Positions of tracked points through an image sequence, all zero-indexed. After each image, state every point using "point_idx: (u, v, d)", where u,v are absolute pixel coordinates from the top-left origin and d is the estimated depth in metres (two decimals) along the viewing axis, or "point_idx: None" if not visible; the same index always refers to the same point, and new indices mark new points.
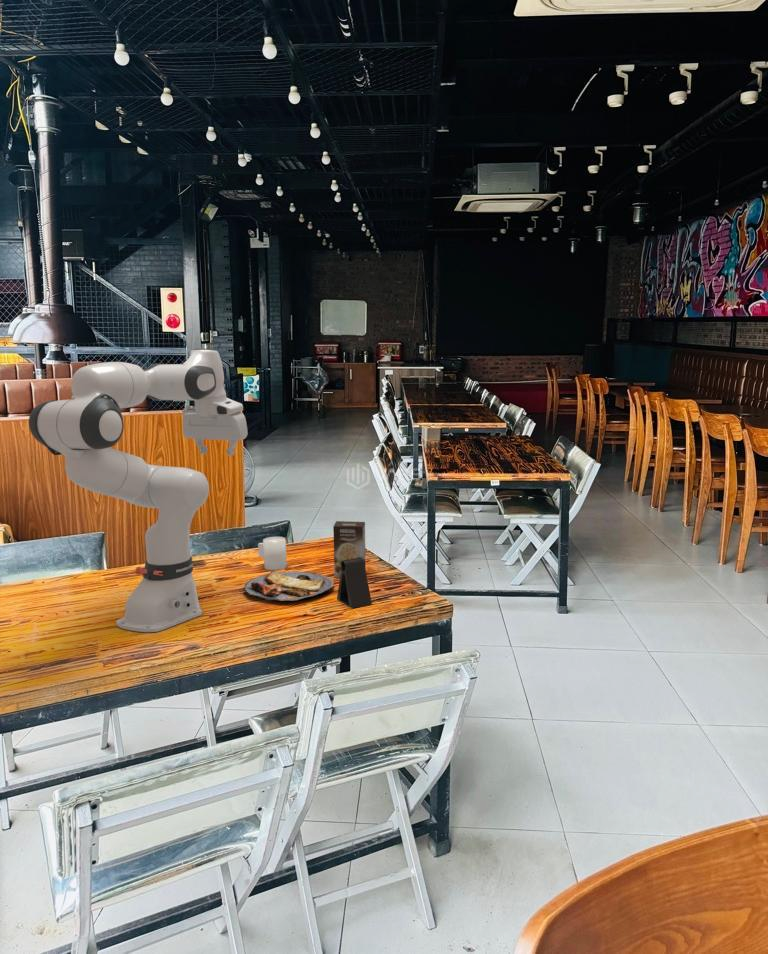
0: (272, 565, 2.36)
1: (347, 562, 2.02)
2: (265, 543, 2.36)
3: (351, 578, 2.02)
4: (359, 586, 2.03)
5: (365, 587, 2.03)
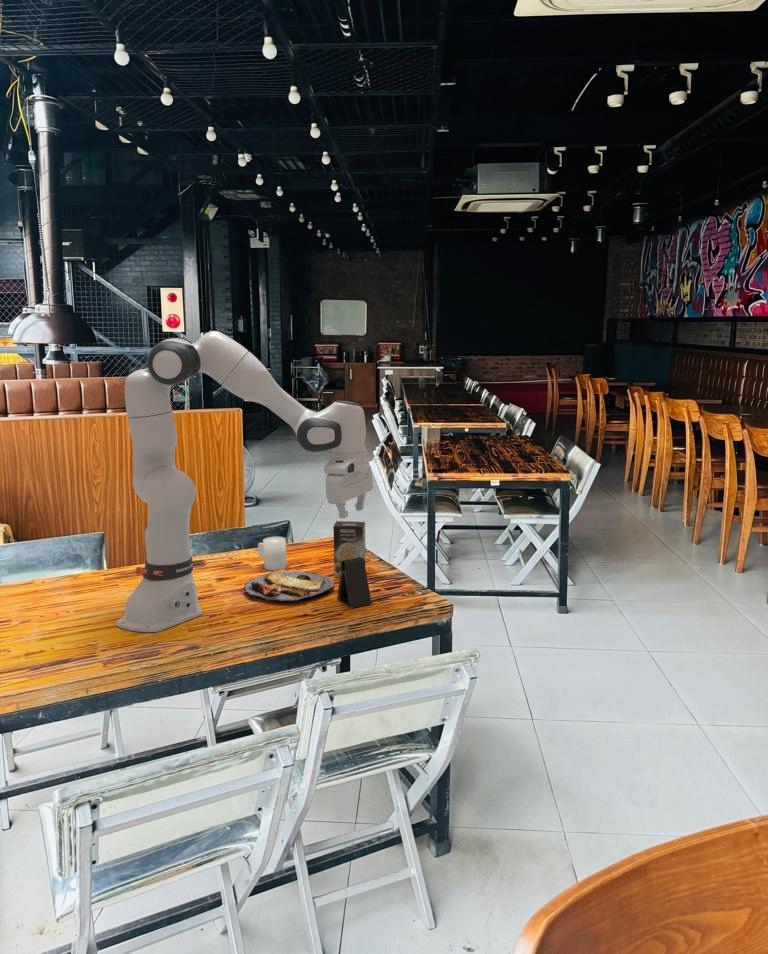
0: (272, 565, 2.36)
1: (347, 562, 2.02)
2: (265, 543, 2.36)
3: (351, 578, 2.02)
4: (359, 586, 2.03)
5: (365, 587, 2.03)
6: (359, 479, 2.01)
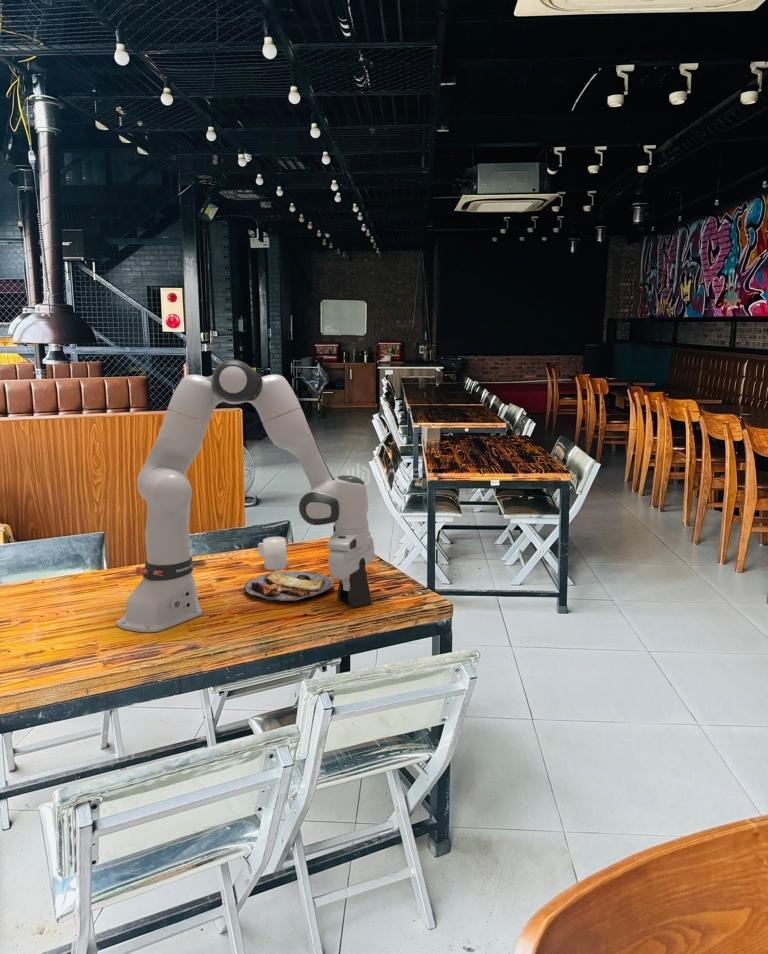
0: (272, 565, 2.36)
1: None
2: (265, 543, 2.36)
3: (351, 578, 2.02)
4: (359, 586, 2.03)
5: (365, 587, 2.03)
6: (361, 552, 2.05)
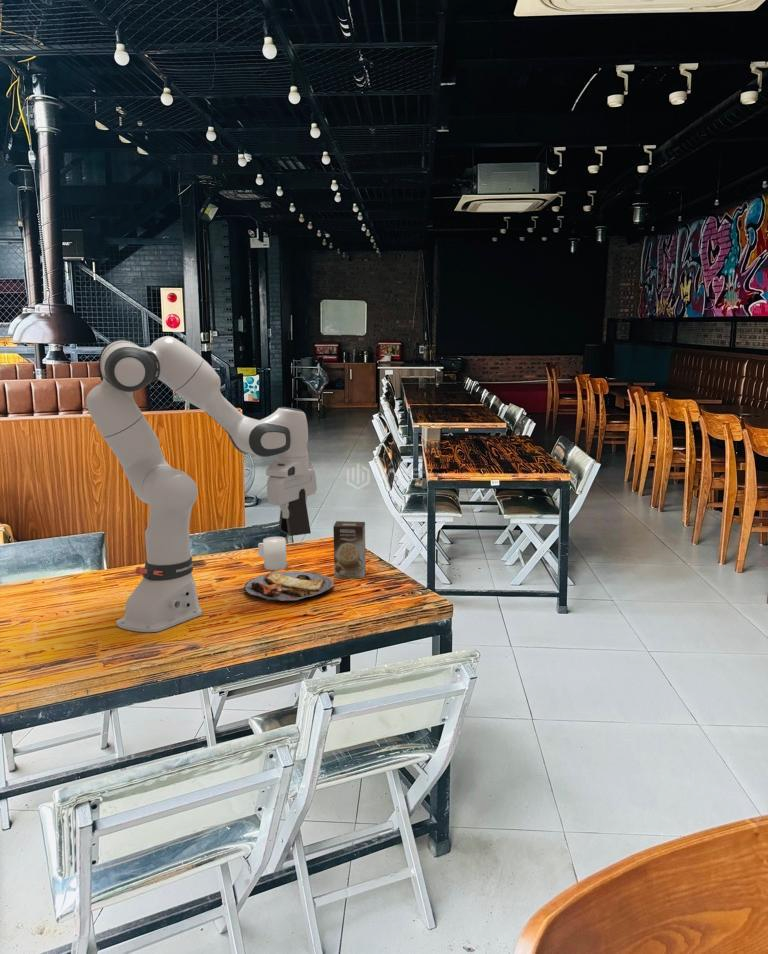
0: (272, 565, 2.36)
1: None
2: (265, 543, 2.36)
3: (290, 507, 2.08)
4: (298, 515, 2.09)
5: (304, 516, 2.09)
6: (302, 482, 2.11)
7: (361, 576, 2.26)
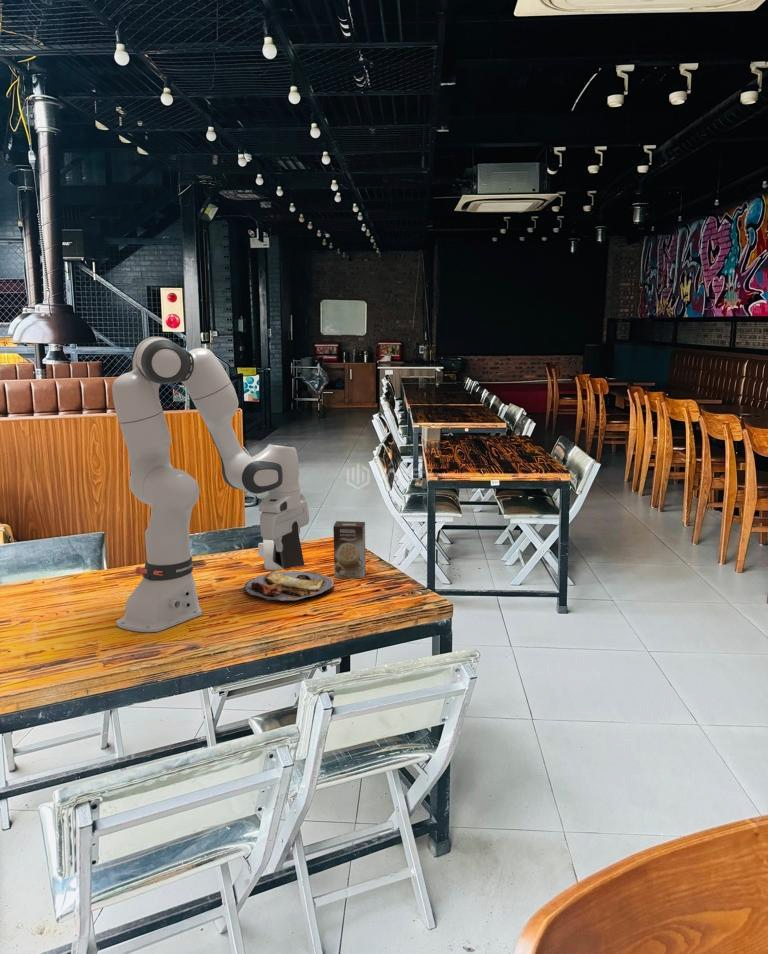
0: (272, 565, 2.36)
1: None
2: (265, 543, 2.36)
3: (284, 540, 2.12)
4: (292, 548, 2.12)
5: (298, 549, 2.13)
6: (294, 515, 2.14)
7: (361, 576, 2.26)
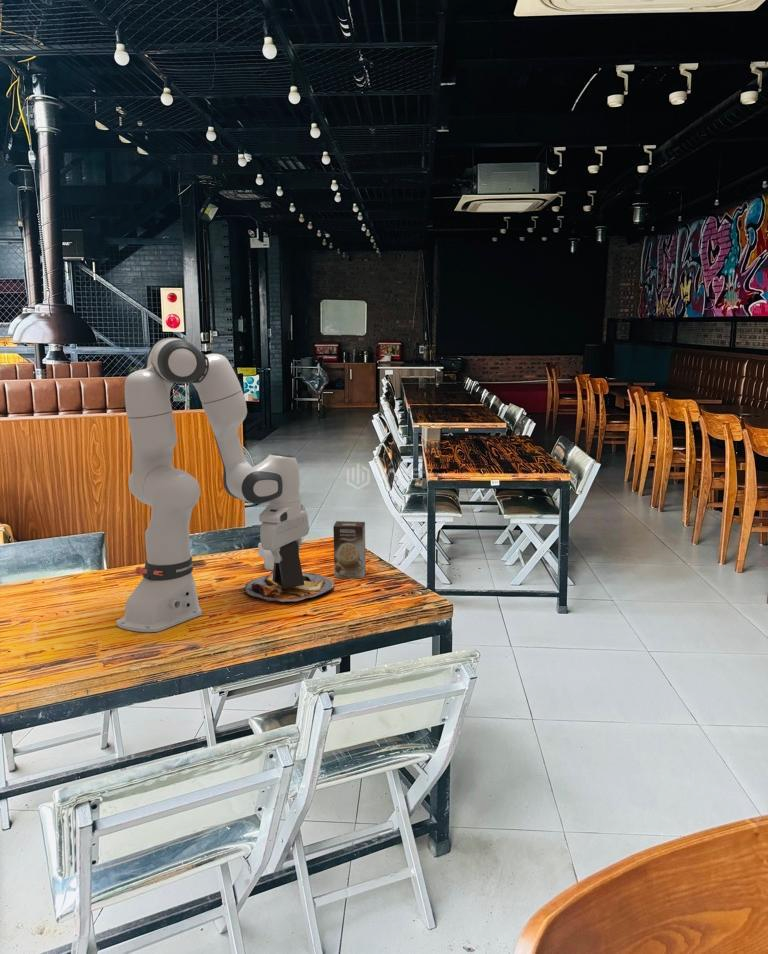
0: (272, 565, 2.36)
1: None
2: None
3: (284, 560, 2.13)
4: (292, 567, 2.13)
5: (298, 568, 2.14)
6: (294, 525, 2.15)
7: (361, 576, 2.26)
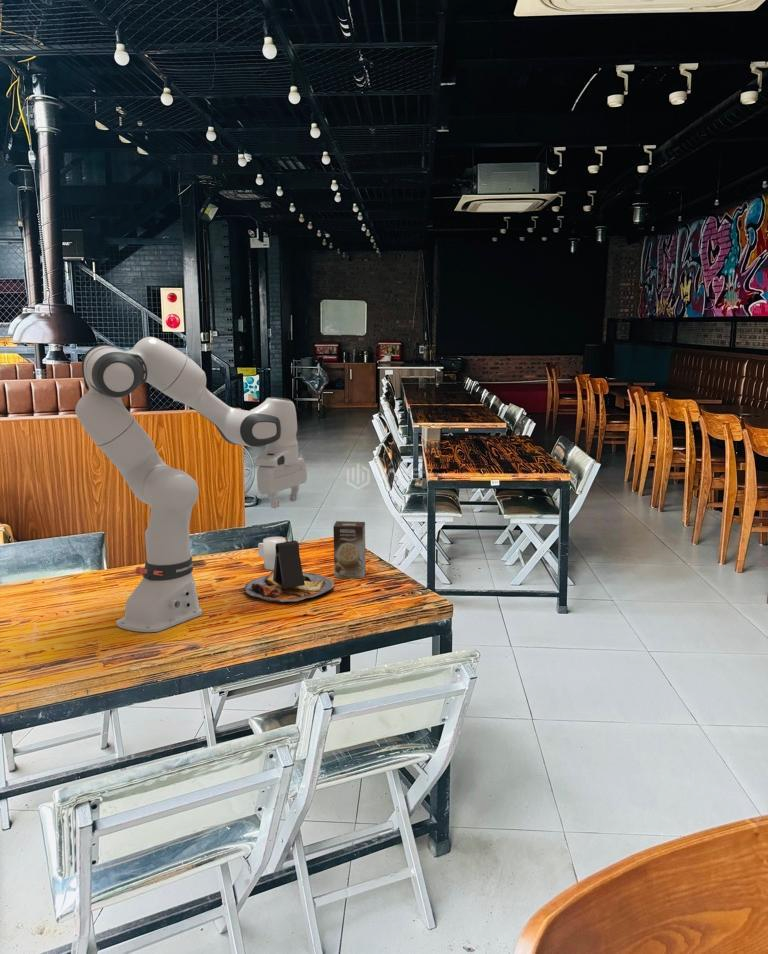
0: (272, 565, 2.36)
1: (281, 545, 2.12)
2: (265, 543, 2.36)
3: (285, 560, 2.13)
4: (292, 568, 2.13)
5: (298, 569, 2.14)
6: (292, 471, 2.12)
7: (361, 576, 2.26)
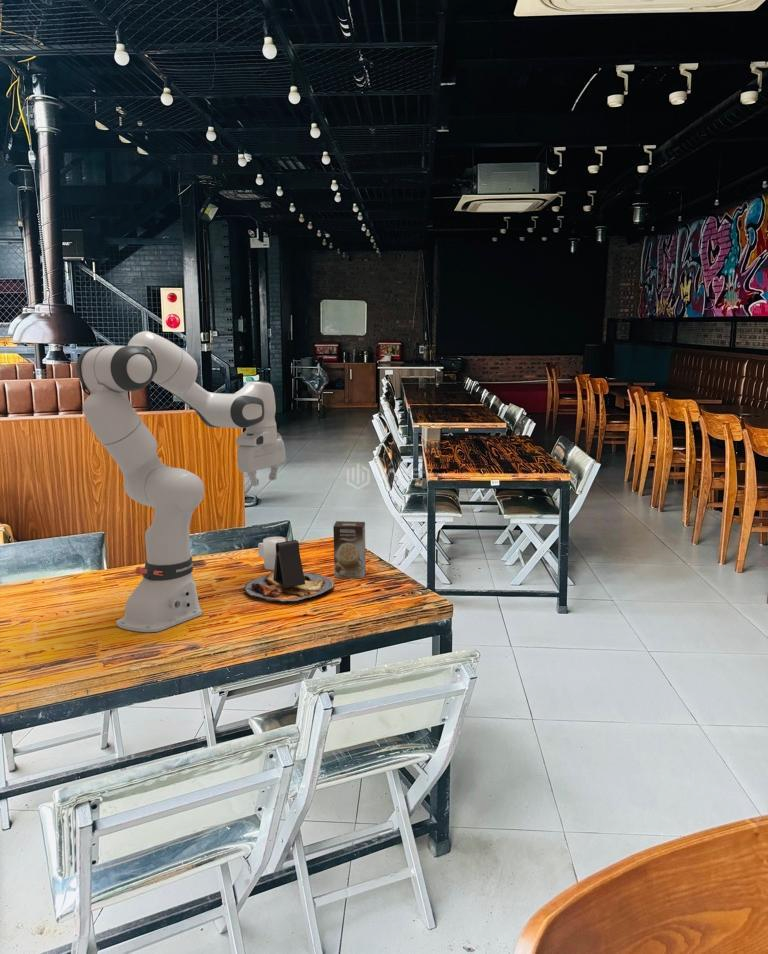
0: (272, 565, 2.36)
1: (281, 544, 2.12)
2: (265, 543, 2.36)
3: (285, 559, 2.13)
4: (293, 567, 2.13)
5: (299, 568, 2.14)
6: (271, 451, 2.24)
7: (361, 576, 2.26)
